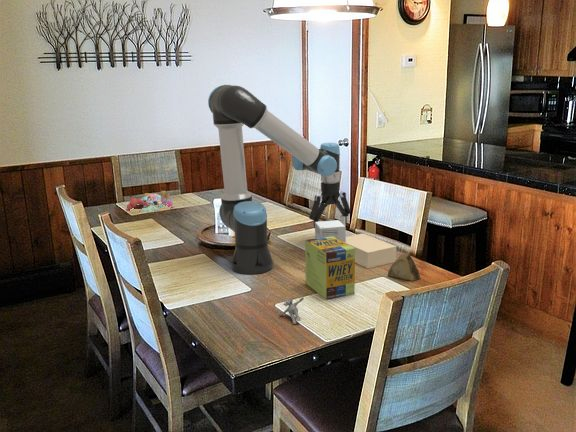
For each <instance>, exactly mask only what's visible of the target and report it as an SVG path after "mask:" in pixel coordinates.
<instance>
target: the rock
mask: <svg viewBox="0 0 576 432" xmlns="http://www.w3.org/2000/svg"><path fill="white" fill-rule="evenodd" d="M420 274H421V273H420V271H419V269H418V267H417V265H416V263H415V261H414V259H413V258H412V257H411V255H410V254H408V253H402V254H400V255H399V256H398V257H397V258H396V261H395V262H393V263H391V266H390V268H389V270H388V272H387V276H388V277H391V278H397V279H401V280H405V281H419V280H420V279H421V278H422V277H421V275H420Z"/></svg>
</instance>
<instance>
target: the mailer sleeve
mask: <svg viewBox="0 0 576 432" xmlns="http://www.w3.org/2000/svg"><path fill="white" fill-rule="evenodd" d="M346 244H348V245H350V246H352V247H354V248H355V263H356V264H357V265H359V266H361V267H363V268H366V269H368V270H369V269H371V268H376V267H379V266H380V267H381V266H385V265H388V264H393V263H394V262H395V261H396V260H397V246H396V245H395V244H391V243H389V242H386V241H384V240H380V239H379V238H377V237H376V238H375V237H374V236H371V235H368V234H366V233H358V234H356V235H352V236H348V237H346Z"/></svg>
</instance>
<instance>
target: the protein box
mask: <svg viewBox="0 0 576 432" xmlns="http://www.w3.org/2000/svg"><path fill="white" fill-rule="evenodd" d="M304 243H305V244H304V247H305V249H304V251H305V253H304V255H305V285H307V286H308V287H310V288H311V289H312V290H313V291H315V292H316V293H317V294H318V295H320V296H321V297H322V298H324V300H330V299H331V300H332V299H336V298H340V297H345V296H351V295H355V291H356V290H355V289H356V288H355V286H356V282H355V280H356V278H355V277H356V276H355V272H356V271H355V270H356V268H355V267H356V265H355V248H354V247H352V246H350V245H348V244H346V243H345V242H343V241H341V240H339V239H337V238H335V237H333V236H331V237H324V238H316V239H315V238H311V239H305V240H304Z"/></svg>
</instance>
